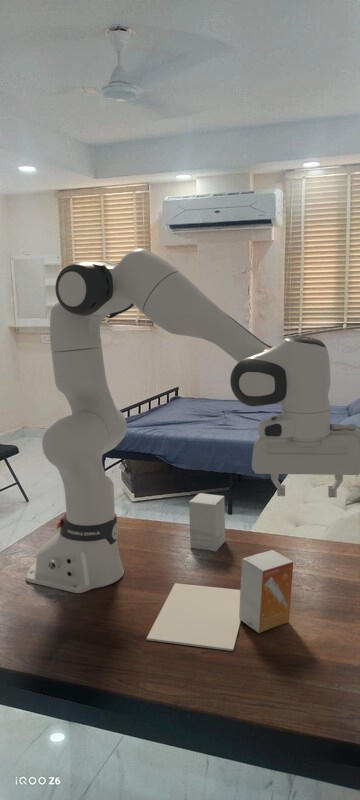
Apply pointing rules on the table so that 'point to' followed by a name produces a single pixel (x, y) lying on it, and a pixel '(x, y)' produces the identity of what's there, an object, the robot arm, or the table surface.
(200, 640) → the mat
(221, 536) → the supplement box
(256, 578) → the small box
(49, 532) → the table surface
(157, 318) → the robot arm
